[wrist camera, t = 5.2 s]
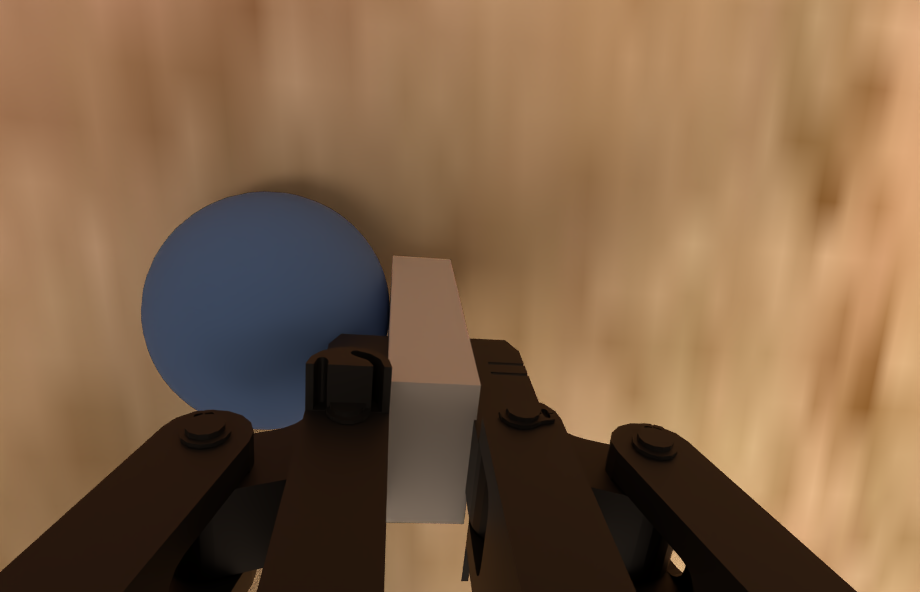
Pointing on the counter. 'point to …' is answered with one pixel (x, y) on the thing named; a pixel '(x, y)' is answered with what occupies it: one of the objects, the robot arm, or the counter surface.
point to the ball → (258, 302)
